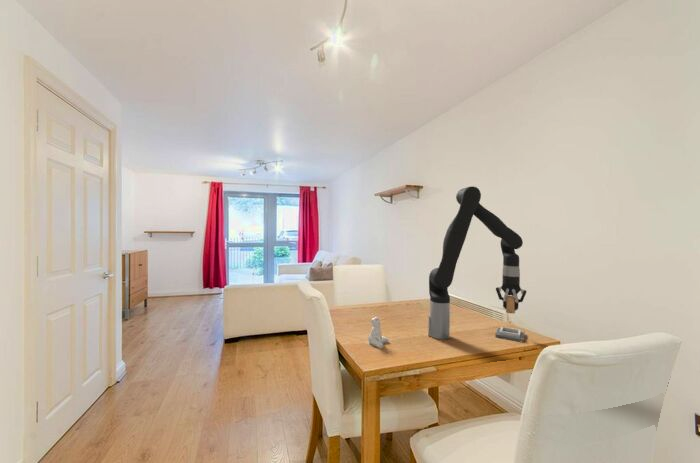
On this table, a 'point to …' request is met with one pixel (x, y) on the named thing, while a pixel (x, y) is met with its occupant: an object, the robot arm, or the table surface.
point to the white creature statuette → (376, 334)
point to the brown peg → (510, 304)
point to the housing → (510, 334)
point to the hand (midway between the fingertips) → (510, 309)
